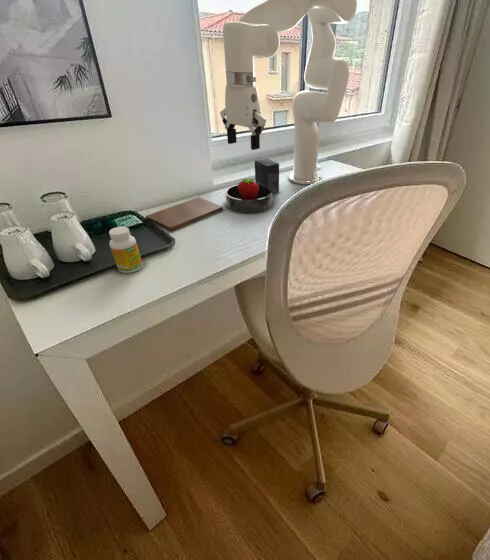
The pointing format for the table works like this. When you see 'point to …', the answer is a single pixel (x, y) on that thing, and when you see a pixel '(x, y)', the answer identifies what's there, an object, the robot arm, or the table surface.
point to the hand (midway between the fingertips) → (243, 146)
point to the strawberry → (248, 189)
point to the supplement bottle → (125, 250)
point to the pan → (248, 206)
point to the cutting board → (184, 213)
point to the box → (267, 174)
